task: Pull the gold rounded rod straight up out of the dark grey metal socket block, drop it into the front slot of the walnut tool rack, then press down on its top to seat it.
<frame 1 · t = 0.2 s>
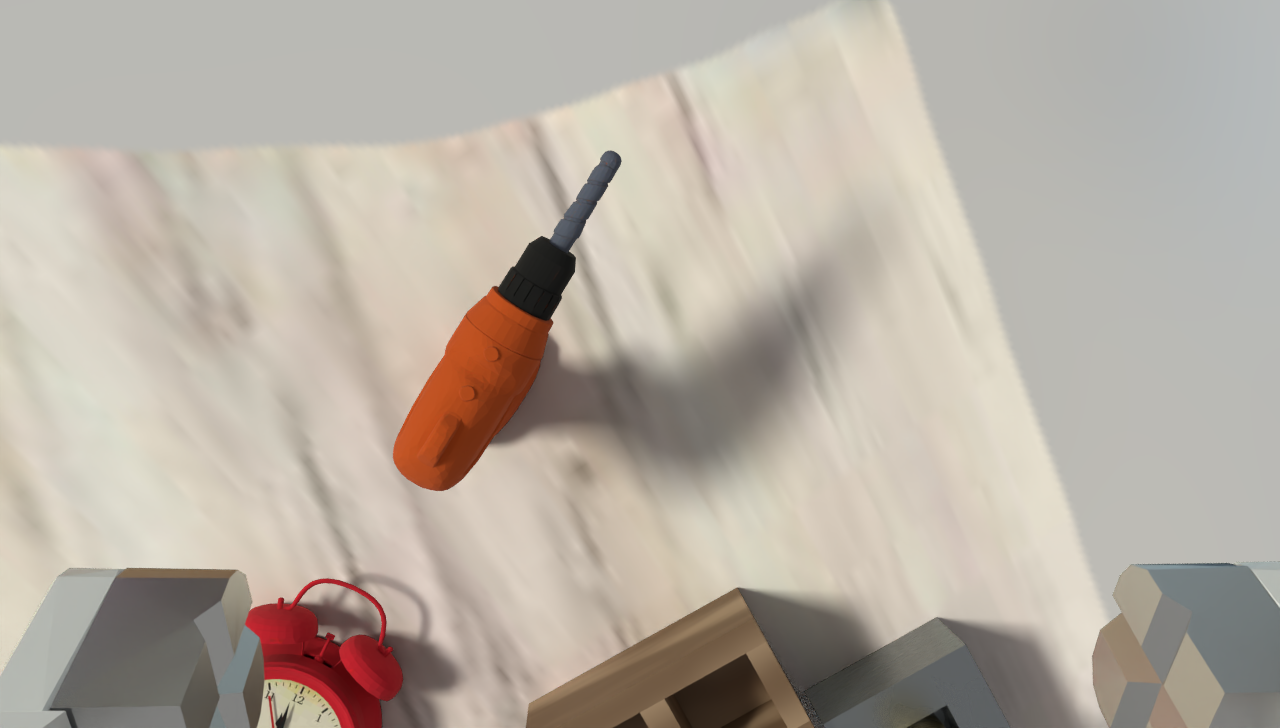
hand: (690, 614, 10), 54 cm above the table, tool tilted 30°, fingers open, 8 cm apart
gold rounded rod: (910, 724, 66), point 1 cm above the table, touching socket block
alarm clock: (305, 691, 65), on the table
socket block: (905, 718, 67), on the table
tool rack: (666, 703, 66), on the table
toy drill: (525, 314, 64), on the table
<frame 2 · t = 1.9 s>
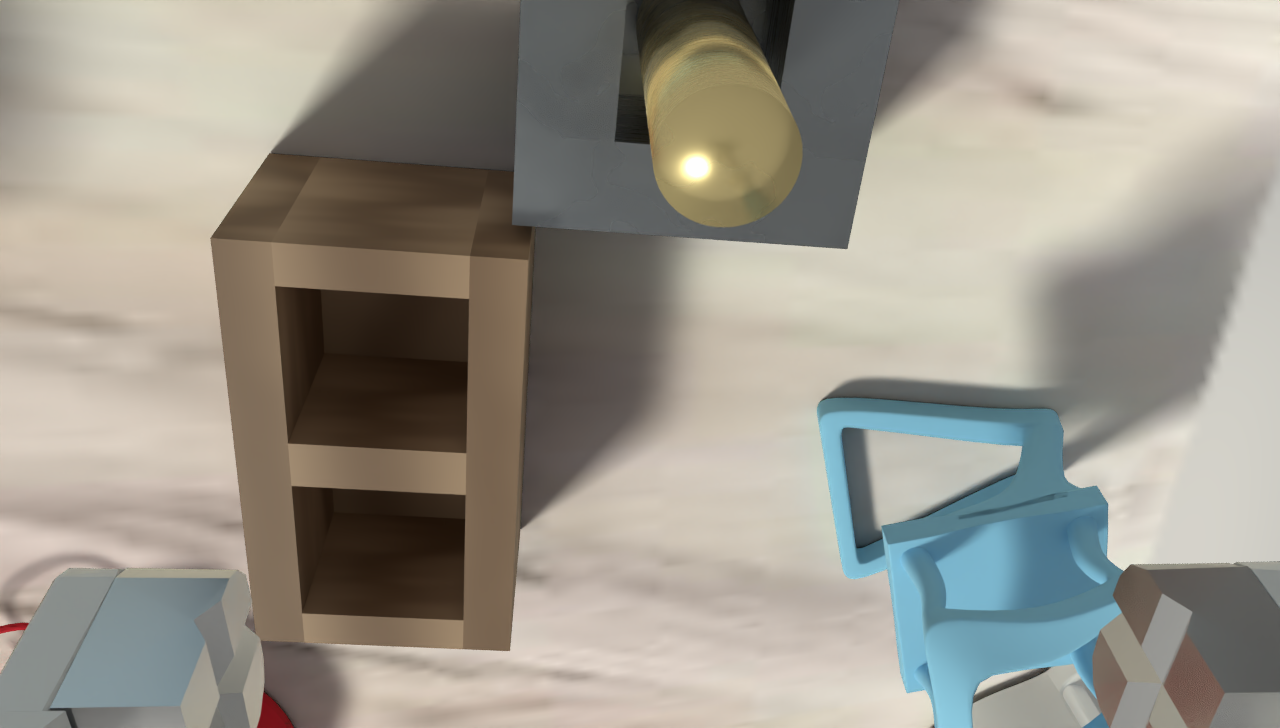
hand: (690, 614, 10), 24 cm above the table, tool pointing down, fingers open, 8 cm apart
gold rounded rod: (690, 27, 31), point 1 cm above the table, touching socket block
alarm clock: (148, 710, 46), on the table
socket block: (687, 18, 32), on the table
chair: (939, 461, 40), on the table
tool rack: (408, 361, 37), on the table
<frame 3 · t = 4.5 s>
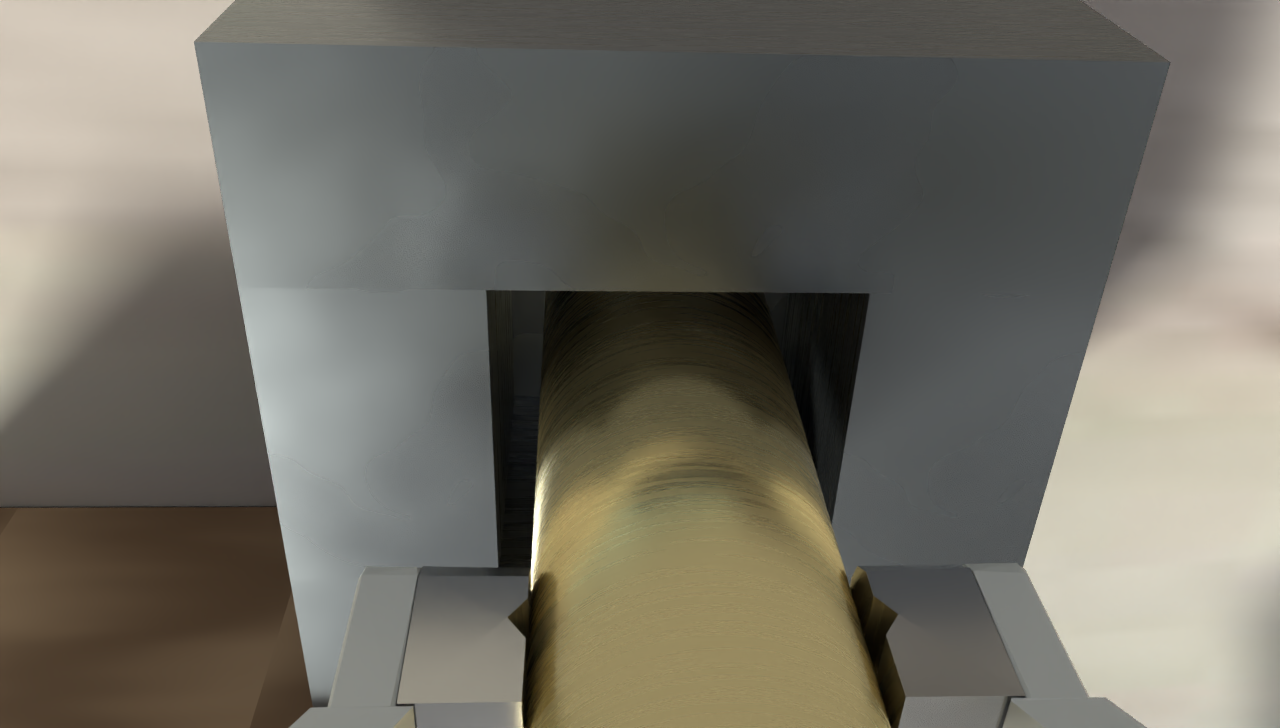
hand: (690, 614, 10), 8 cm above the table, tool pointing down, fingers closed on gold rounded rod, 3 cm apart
gold rounded rod: (650, 280, 16), point 1 cm above the table, touching gripper, socket block
socket block: (647, 249, 17), on the table
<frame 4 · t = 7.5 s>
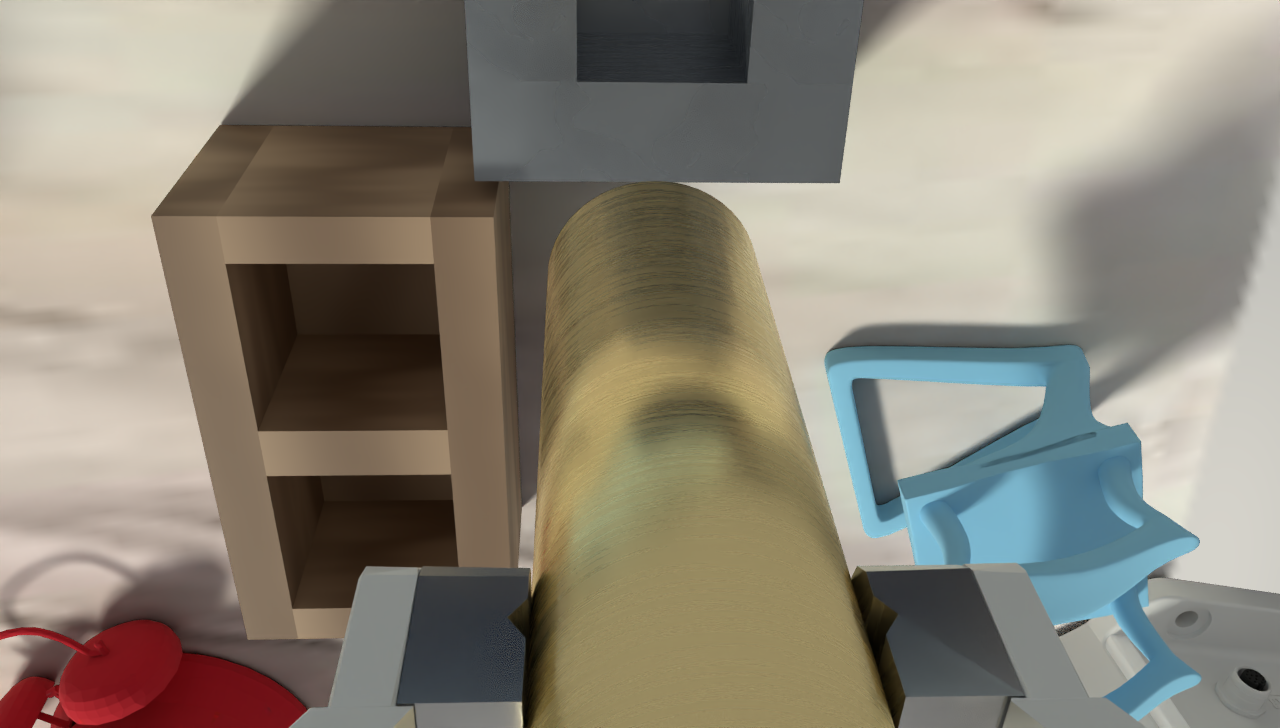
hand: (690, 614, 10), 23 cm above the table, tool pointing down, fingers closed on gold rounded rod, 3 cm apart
gold rounded rod: (652, 278, 16), point 16 cm above the table, touching gripper
alarm clock: (163, 709, 44), on the table
chair: (959, 408, 38), on the table
tool rack: (387, 338, 35), on the table
when the fingers open (9 cm above the table, at t = 10.5 s): gold rounded rod stays where it is, resting on tool rack.
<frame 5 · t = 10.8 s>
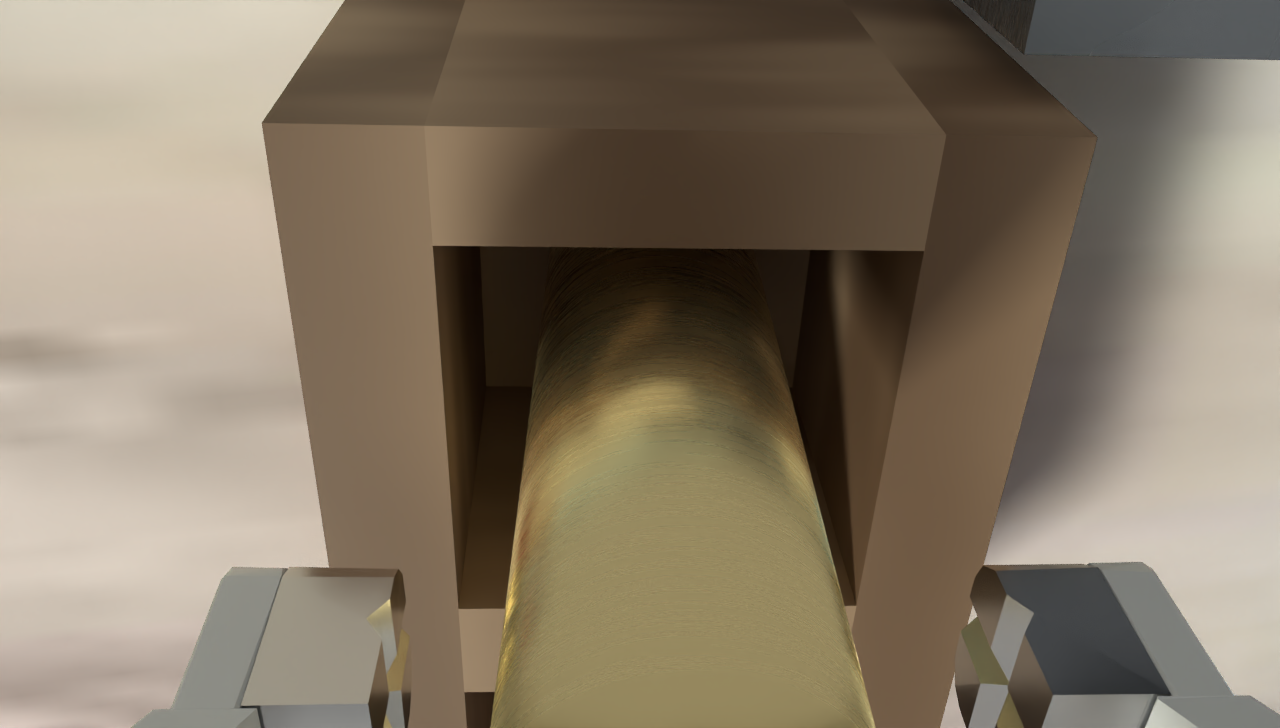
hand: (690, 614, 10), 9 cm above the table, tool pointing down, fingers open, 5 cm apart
gold rounded rod: (650, 250, 17), point 1 cm above the table, touching tool rack
tool rack: (636, 391, 19), on the table
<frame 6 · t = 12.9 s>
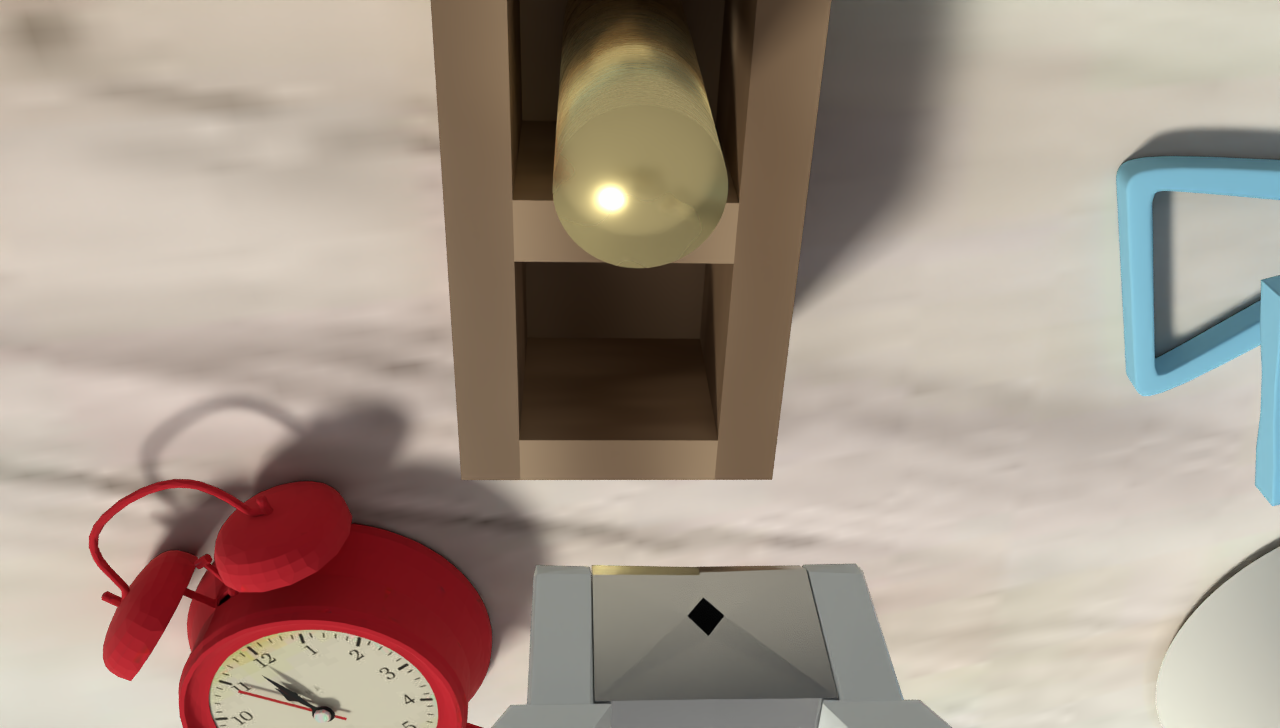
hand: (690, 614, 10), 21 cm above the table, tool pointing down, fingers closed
gold rounded rod: (624, 24, 27), point 1 cm above the table, touching tool rack
alarm clock: (313, 595, 39), on the table
chair: (1258, 240, 33), on the table
tool rack: (617, 136, 30), on the table
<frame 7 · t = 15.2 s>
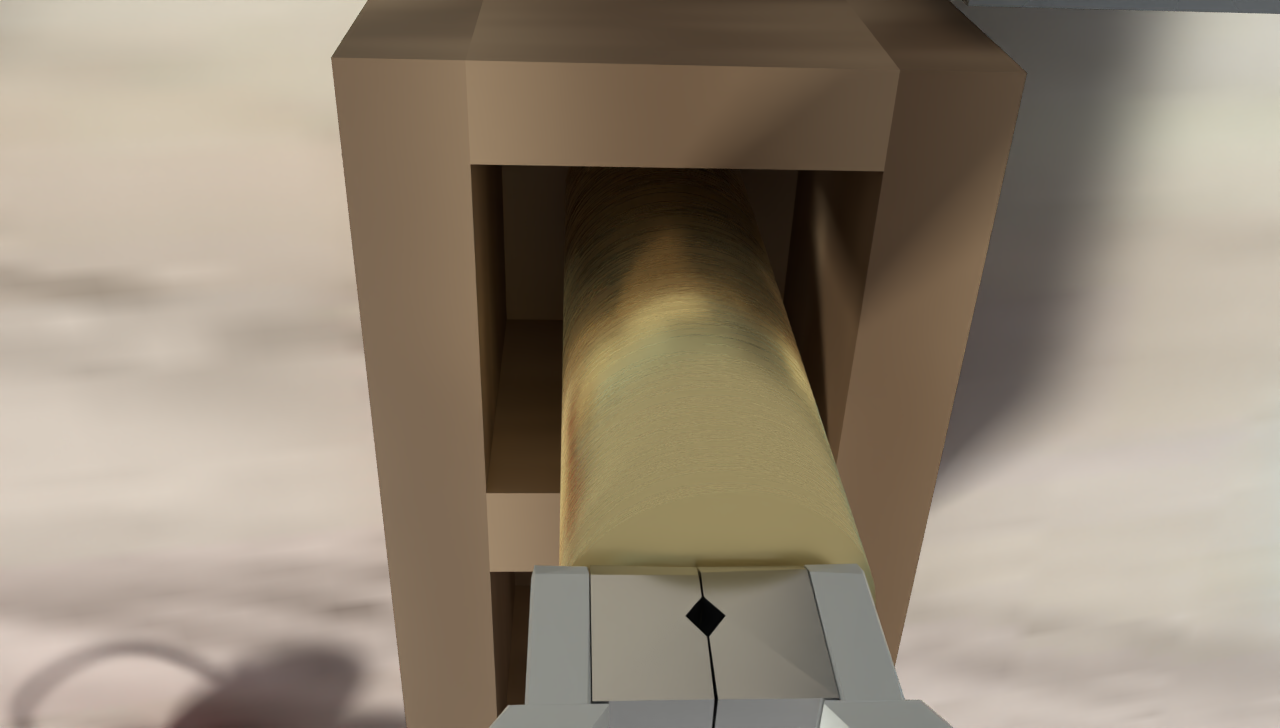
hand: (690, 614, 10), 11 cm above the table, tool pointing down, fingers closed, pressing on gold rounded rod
gold rounded rod: (653, 192, 19), point 1 cm above the table, touching gripper, tool rack
tool rack: (640, 328, 22), on the table
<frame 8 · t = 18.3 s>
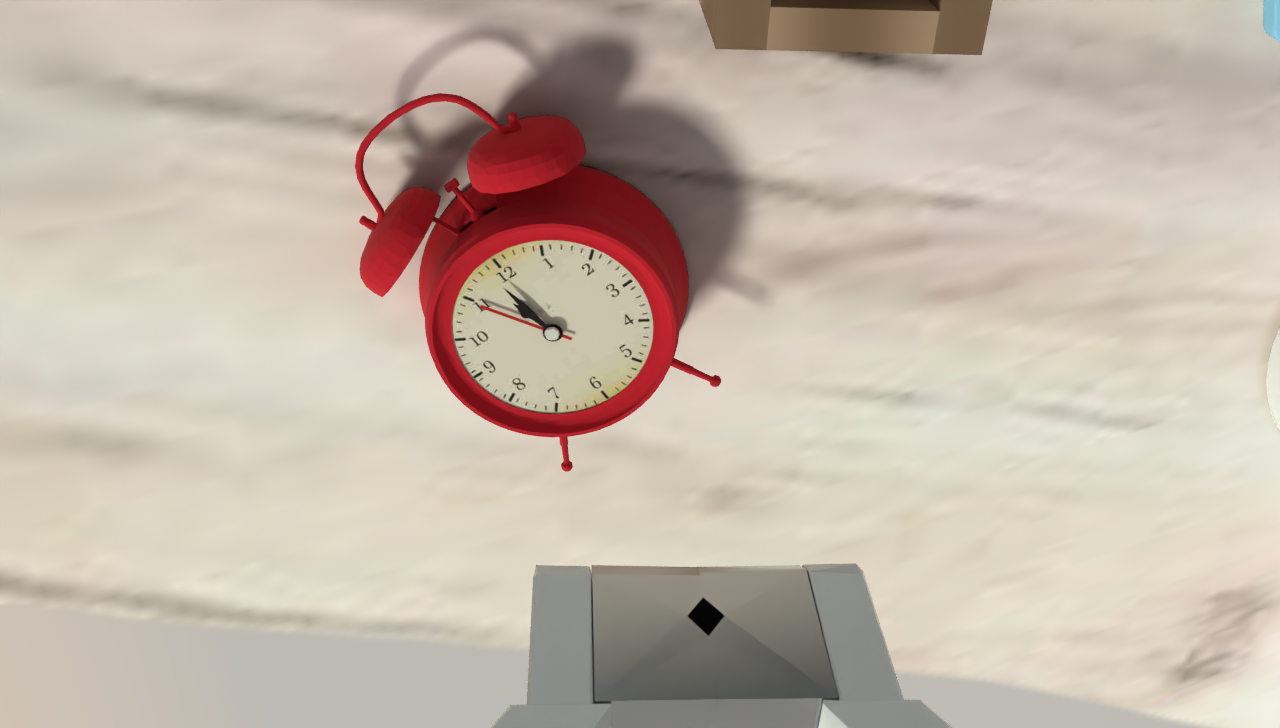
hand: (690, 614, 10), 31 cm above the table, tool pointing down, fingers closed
alarm clock: (529, 249, 43), on the table
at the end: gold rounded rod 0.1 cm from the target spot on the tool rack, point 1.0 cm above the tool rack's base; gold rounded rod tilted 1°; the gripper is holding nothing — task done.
